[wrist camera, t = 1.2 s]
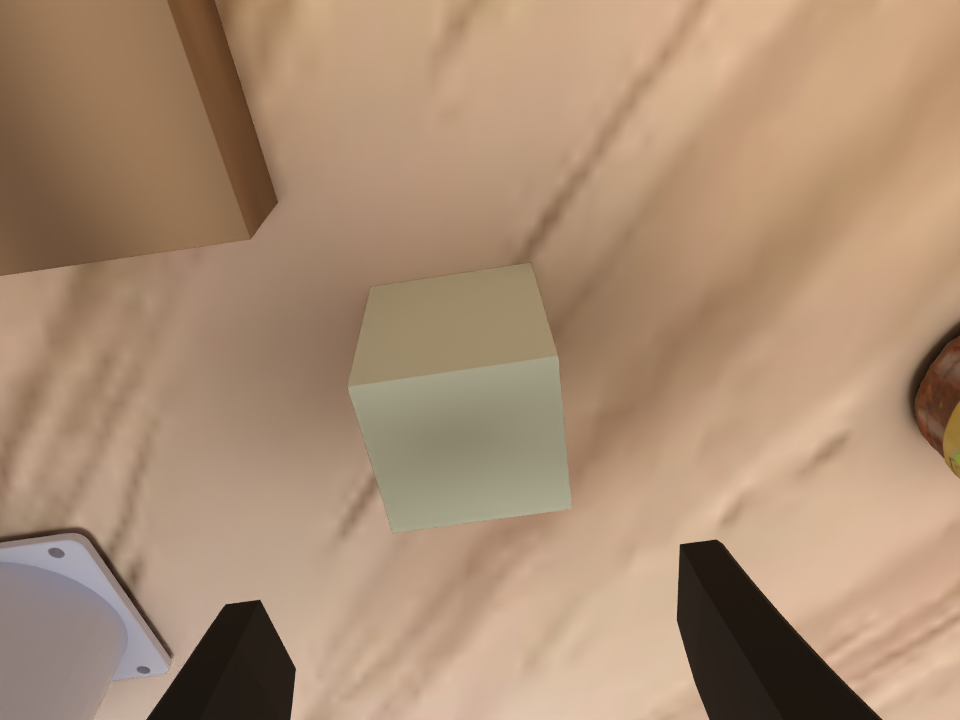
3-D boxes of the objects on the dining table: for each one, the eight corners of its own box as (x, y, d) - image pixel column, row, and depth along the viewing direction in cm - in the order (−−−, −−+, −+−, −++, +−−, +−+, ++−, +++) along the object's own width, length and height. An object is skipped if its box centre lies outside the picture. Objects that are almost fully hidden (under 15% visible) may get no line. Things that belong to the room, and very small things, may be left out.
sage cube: (404, 413, 20) (392, 533, 16) (370, 285, 18) (346, 386, 13) (544, 393, 20) (571, 508, 16) (530, 261, 17) (557, 355, 13)
